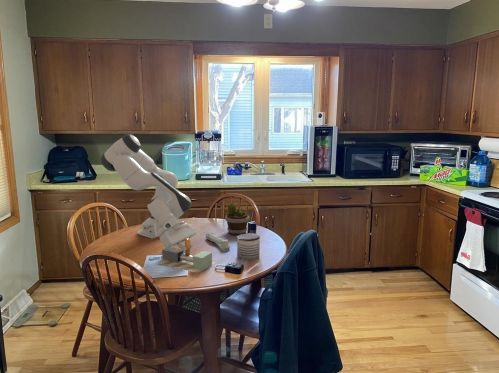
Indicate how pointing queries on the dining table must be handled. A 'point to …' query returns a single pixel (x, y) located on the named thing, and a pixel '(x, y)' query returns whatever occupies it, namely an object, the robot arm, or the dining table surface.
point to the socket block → (202, 260)
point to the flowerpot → (236, 220)
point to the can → (248, 246)
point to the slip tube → (186, 252)
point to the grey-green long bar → (218, 241)
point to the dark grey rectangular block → (171, 254)
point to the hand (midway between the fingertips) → (188, 248)
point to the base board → (181, 265)
